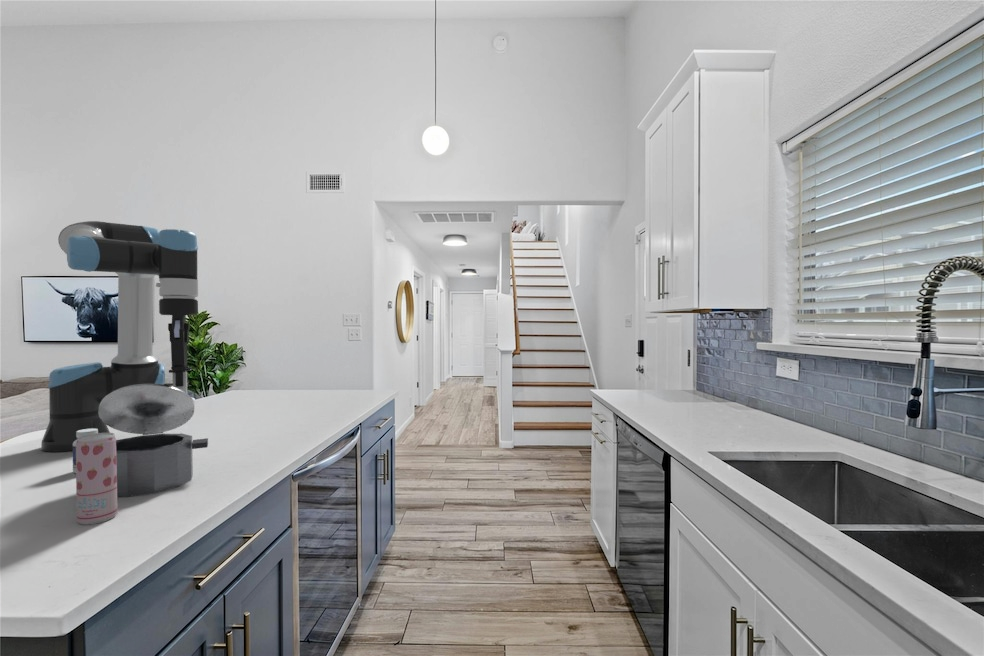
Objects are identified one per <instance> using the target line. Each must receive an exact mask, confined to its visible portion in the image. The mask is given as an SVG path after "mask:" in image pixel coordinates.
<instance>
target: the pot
mask: <svg viewBox="0 0 984 656" xmlns="http://www.w3.org/2000/svg"><path fill="white" fill-rule="evenodd" d="M208 446H209V438H200V439H193V436H192V435H189V434H184V433H160V434H150V435H137V436H132V437H126V438H122V439H116V460H117V498H129V497H130V498H131V497H136V496H144V495H151V494H152V495H153V494H157V493H160V492H163V491H164V492H165V491H167V490H171V489H174V488H175V489H176V488H178V487H180V486H183V485H185V484H186V483H188V482H190V481H192V478H193V474H194V473H193V472H194V471H193V467H194V466H193V450H194V449H204V448H208Z"/></svg>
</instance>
